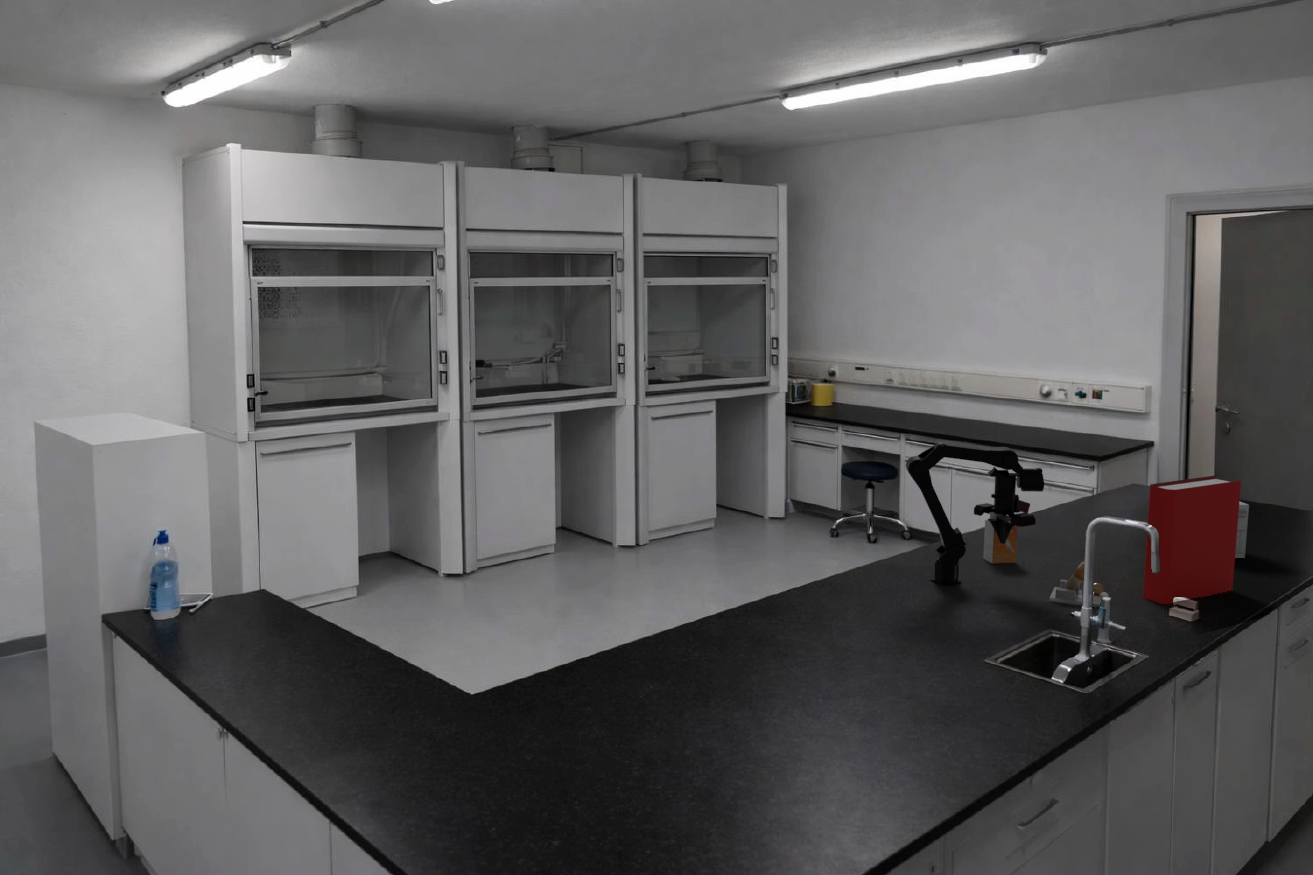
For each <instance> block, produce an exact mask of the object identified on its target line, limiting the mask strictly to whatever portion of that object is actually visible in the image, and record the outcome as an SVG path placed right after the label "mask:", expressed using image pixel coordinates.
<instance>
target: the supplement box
mask: <svg viewBox="0 0 1313 875" xmlns="http://www.w3.org/2000/svg"><path fill="white" fill-rule="evenodd" d="M1249 508H1250V504H1248V503H1245V502H1242V501H1241V500H1240V501H1239V514H1238V527H1237V539H1236V552H1235V558H1244V559H1245V558H1246V557H1245V556H1246V546H1247V545H1246V544H1247V536H1248V534H1247V532H1248V522H1249V521H1248V520H1249V510H1250V509H1249Z"/></svg>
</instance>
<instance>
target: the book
mask: <svg viewBox="0 0 1313 875" xmlns="http://www.w3.org/2000/svg"><path fill="white" fill-rule="evenodd" d="M1241 484H1242V480H1234V481H1228V480H1223V479H1219V478H1217V477H1216V475H1209V476H1208V475H1207V476H1201V477H1195V478H1187V479H1181V480H1173V481H1164V482H1156V483H1151V484H1149V497H1148V498H1149V500H1148V513H1147V514H1148V516H1147V525H1148V524H1150V525H1152V526H1153V527H1155V528H1156V529H1157V531H1158V533H1159V556H1160V571H1159V574H1153V573H1152V569H1151V540H1150V537H1149V535H1148V534H1147V533H1146V544H1145V545H1146V546H1145V558H1144V559H1145V561H1144V575H1143V578H1144V579H1143V593H1142V594H1143V595H1142V598H1143V599H1145V600H1148V601H1152V602H1155V603H1157V604H1159V605H1161V604H1163V605H1171V604H1174V603H1173V598H1174V597H1187V598H1196V599H1198V598H1197V597H1201V598H1204V597H1208V596H1209V597H1211V596H1214V595H1213V594H1215V595H1219V594H1218V593H1220V594H1224V593H1223V592H1225V593H1228V592H1227V591H1230V592H1232V591H1233V588H1234V587H1233V586H1234V575H1235V574H1234V573H1235V566H1236V565H1235V564H1236V563H1235V562H1236V559H1235V552H1236V539H1237V527H1238V514H1239V501H1240V502H1241V488H1242V485H1241ZM1231 590H1232V591H1231Z"/></svg>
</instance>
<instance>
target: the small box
mask: <svg viewBox="0 0 1313 875" xmlns="http://www.w3.org/2000/svg"><path fill="white" fill-rule="evenodd" d="M1018 527H1019V526H1016V525H1014V526H1013V527H1012V529H1011V531H1010V533H1009V536H1008V538H1007V540H1006V543H1005V544H1002V543H1000V541H999V539H998V536H997V534H996V532H995V530H994V528H993V526H992V525H991V523H990V521H988V519H985V520H984V537H983V538H984V539H983V560H985V561H986V562H988V563H990V564H994V565H995V564H1016V563H1017V546H1018Z"/></svg>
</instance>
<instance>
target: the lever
mask: <svg viewBox="0 0 1313 875" xmlns="http://www.w3.org/2000/svg"><path fill="white" fill-rule="evenodd" d="M1085 563H1086V561H1081V562H1080V564H1079V565H1078V566H1077V567H1076V569H1075V570H1074V571H1073V573H1072V575H1071V576H1070V578H1068V581H1067V582H1066V584H1065V585H1064V586H1065V589H1069V590H1076V588H1077V587H1078V586H1079V587H1080V585H1081V584H1082V583H1083V582H1084V581H1085V580H1084V565H1085Z"/></svg>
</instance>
